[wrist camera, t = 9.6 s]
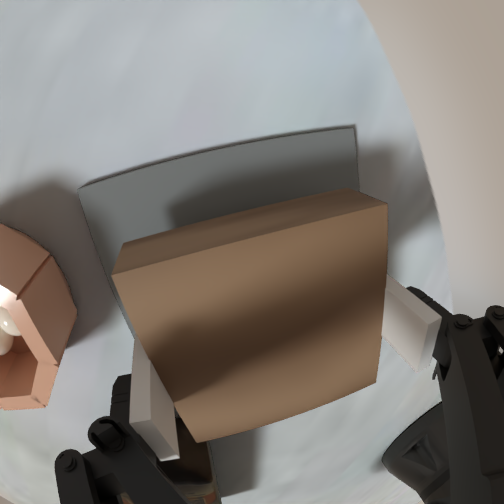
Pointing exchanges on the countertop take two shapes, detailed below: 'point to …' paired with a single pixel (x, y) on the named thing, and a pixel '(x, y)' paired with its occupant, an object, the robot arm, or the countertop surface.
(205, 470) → the beverage carton
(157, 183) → the mat
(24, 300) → the pot
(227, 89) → the countertop surface
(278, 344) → the lid
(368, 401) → the countertop surface
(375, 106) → the countertop surface
